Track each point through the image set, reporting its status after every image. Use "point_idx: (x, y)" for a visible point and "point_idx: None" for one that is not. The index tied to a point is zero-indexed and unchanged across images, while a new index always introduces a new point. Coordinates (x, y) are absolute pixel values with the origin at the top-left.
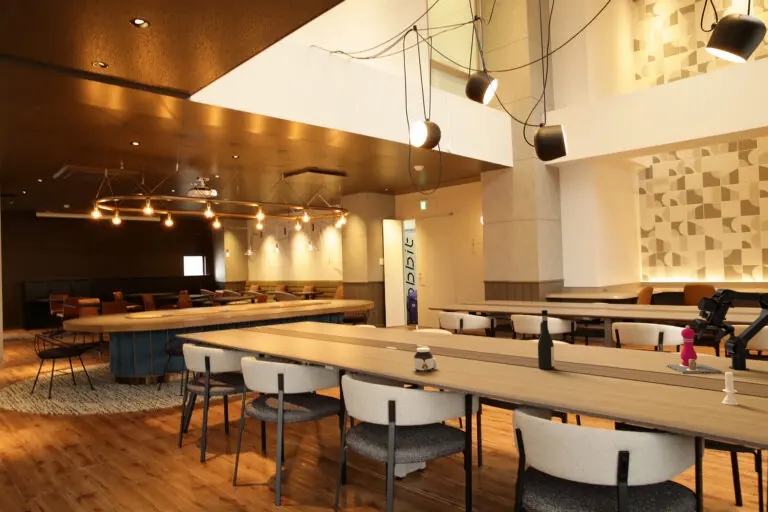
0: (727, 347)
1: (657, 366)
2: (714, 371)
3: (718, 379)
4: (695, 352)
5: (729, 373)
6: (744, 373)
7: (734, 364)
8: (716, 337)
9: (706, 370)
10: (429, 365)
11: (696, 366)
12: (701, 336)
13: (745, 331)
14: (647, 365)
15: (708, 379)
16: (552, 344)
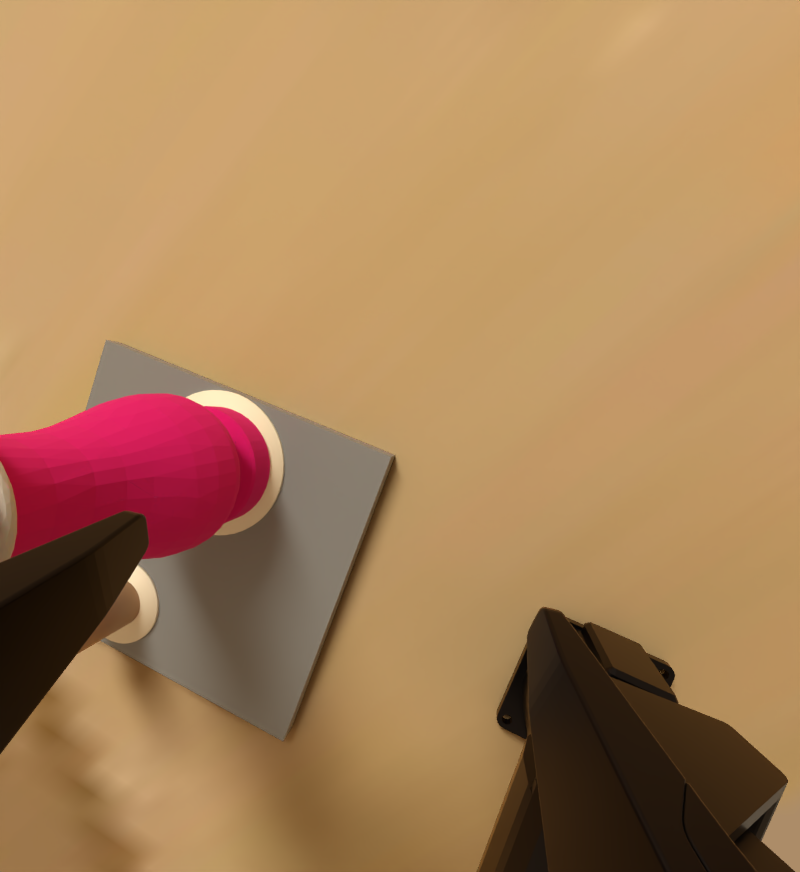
0: (497, 833)
1: (72, 306)
2: (232, 710)
3: (103, 844)
4: (150, 551)
5: None
6: (434, 831)
7: (526, 715)
8: (566, 689)
9: (193, 668)
10: None
11: (238, 524)
12: (68, 654)
13: None
14: (36, 241)
15: (53, 808)
16: None
